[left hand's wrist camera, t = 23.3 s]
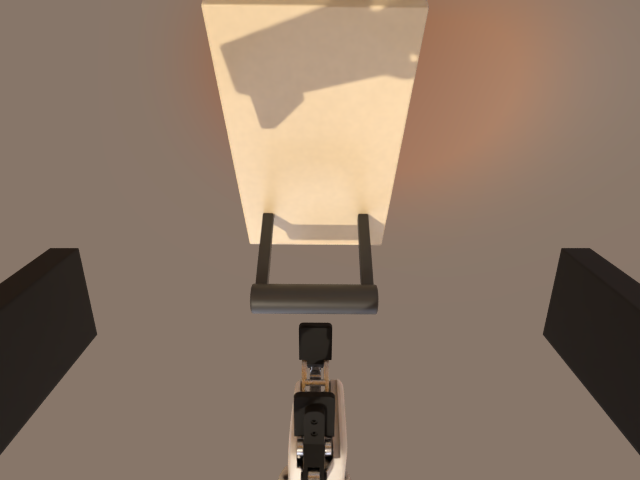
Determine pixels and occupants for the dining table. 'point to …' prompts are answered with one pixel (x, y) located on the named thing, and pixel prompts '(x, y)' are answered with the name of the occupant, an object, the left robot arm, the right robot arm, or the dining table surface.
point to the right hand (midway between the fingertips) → (315, 355)
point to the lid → (315, 128)
